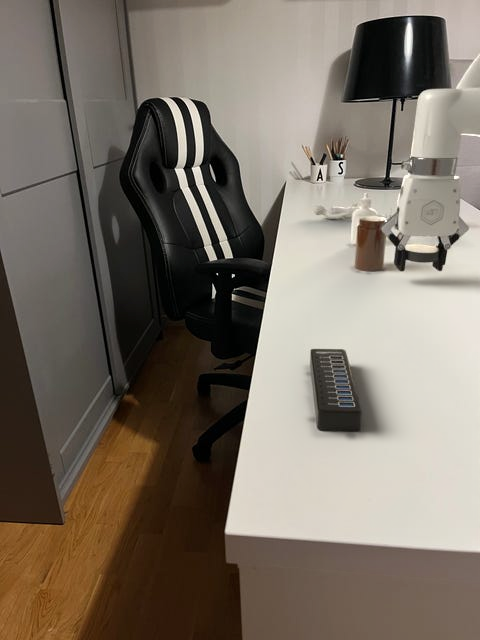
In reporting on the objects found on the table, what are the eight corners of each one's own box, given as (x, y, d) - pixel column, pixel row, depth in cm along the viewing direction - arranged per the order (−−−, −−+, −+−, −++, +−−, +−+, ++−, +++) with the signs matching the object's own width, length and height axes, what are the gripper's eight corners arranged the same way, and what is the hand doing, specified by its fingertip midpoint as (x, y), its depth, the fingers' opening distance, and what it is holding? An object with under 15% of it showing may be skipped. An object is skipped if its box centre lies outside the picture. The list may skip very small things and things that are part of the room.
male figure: (390, 210, 137) (311, 208, 143) (389, 224, 138) (310, 221, 145) (392, 204, 146) (317, 201, 152) (391, 217, 147) (316, 214, 154)
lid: (395, 254, 94) (396, 245, 93) (425, 252, 95) (427, 243, 94) (413, 263, 88) (415, 253, 88) (445, 261, 89) (446, 251, 89)
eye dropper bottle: (372, 246, 117) (377, 194, 113) (348, 244, 119) (352, 193, 115) (376, 242, 121) (380, 191, 116) (352, 240, 123) (356, 190, 118)
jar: (378, 262, 105) (383, 215, 102) (386, 271, 100) (391, 221, 96) (351, 263, 105) (354, 216, 101) (358, 271, 100) (361, 222, 96)
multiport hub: (317, 430, 51) (318, 411, 50) (309, 364, 65) (310, 348, 64) (360, 431, 51) (362, 412, 50) (344, 364, 64) (345, 348, 63)
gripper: (387, 171, 82) (376, 275, 89) (493, 170, 82) (474, 274, 89) (376, 166, 89) (367, 263, 96) (473, 165, 89) (457, 262, 96)
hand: (418, 268), depth 92 cm, fingers closed on lid, 6 cm apart
